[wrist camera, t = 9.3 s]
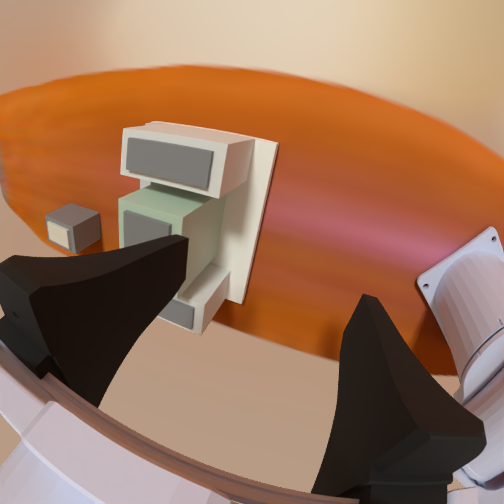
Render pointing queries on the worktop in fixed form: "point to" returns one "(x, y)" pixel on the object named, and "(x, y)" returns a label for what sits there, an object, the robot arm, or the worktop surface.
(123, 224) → the green module
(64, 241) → the block
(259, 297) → the worktop surface
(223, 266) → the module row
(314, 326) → the worktop surface
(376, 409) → the robot arm
